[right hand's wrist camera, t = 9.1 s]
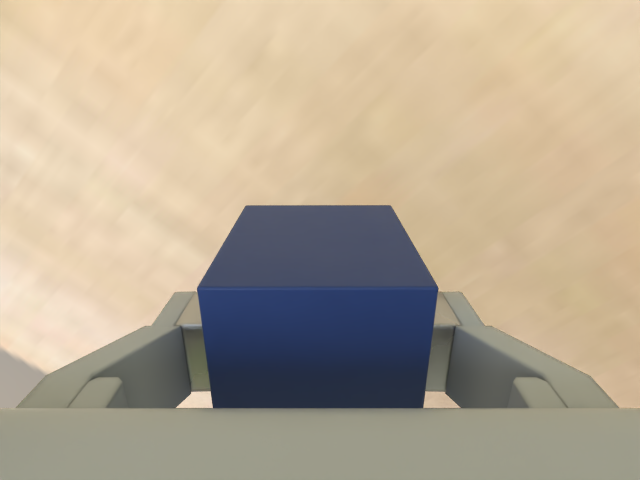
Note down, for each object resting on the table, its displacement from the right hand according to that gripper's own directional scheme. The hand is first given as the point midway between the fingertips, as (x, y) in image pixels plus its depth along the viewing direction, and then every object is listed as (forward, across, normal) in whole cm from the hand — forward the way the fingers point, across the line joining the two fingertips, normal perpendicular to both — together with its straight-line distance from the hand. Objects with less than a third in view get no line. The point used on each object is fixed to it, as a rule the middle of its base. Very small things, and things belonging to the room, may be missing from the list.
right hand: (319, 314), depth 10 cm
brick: (+2, 0, 0) cm, 2 cm away
